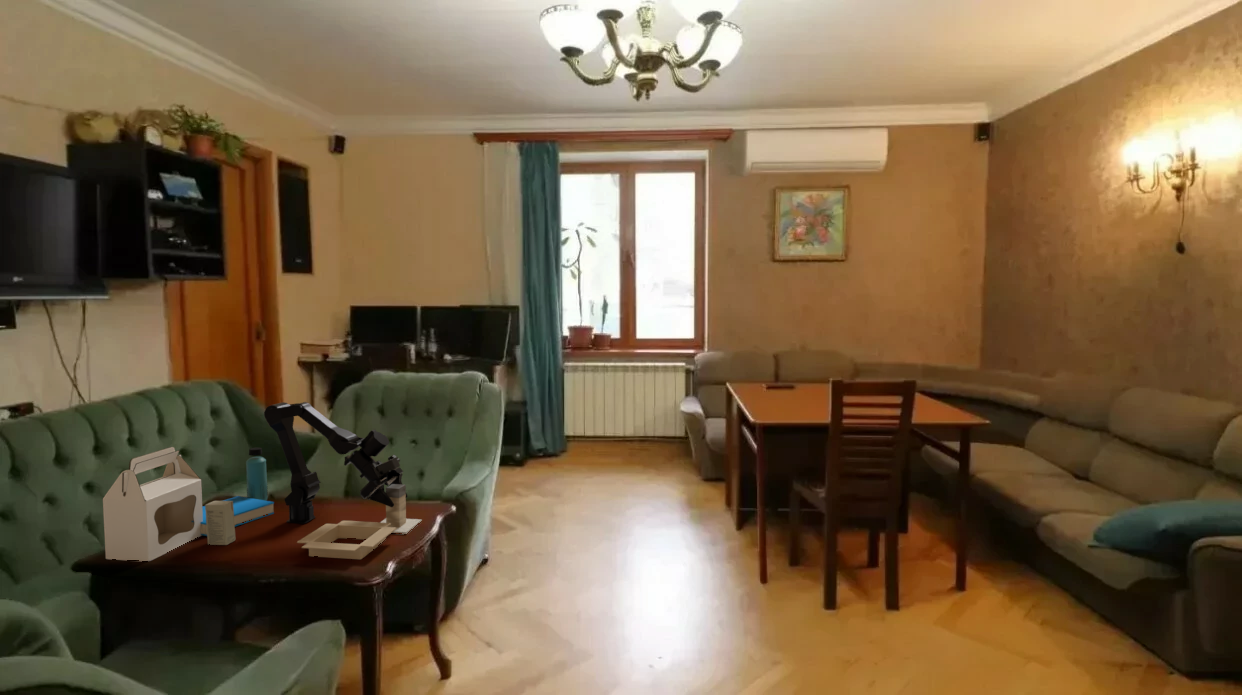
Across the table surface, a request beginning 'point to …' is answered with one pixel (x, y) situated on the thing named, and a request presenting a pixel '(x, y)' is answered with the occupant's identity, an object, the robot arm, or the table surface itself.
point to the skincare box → (220, 522)
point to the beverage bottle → (256, 475)
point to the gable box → (152, 508)
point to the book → (243, 511)
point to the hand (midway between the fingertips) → (400, 501)
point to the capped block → (396, 505)
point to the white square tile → (405, 525)
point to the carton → (328, 533)
